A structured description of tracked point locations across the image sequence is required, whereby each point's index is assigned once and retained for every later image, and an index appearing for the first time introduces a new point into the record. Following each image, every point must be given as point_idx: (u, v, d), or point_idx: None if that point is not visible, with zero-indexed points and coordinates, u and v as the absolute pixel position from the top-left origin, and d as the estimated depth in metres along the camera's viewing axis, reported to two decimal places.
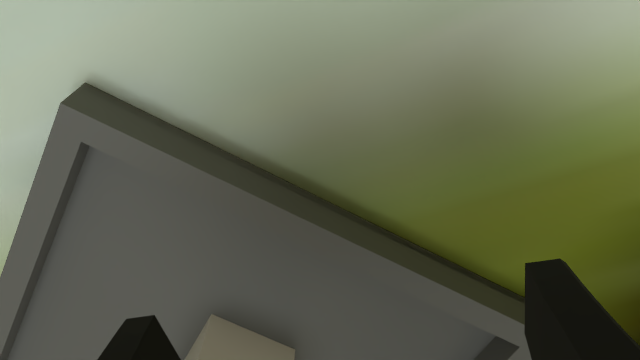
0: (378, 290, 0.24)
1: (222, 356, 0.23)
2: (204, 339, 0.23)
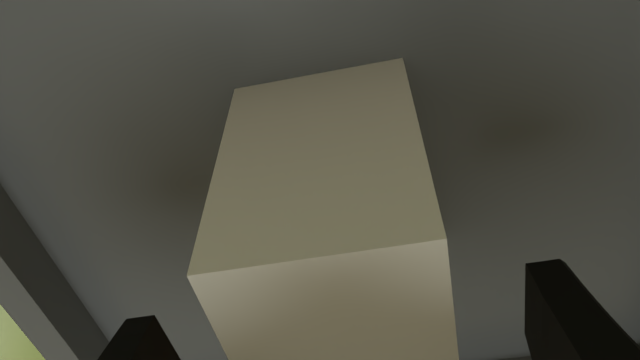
0: None
1: (264, 127, 0.12)
2: (227, 122, 0.13)
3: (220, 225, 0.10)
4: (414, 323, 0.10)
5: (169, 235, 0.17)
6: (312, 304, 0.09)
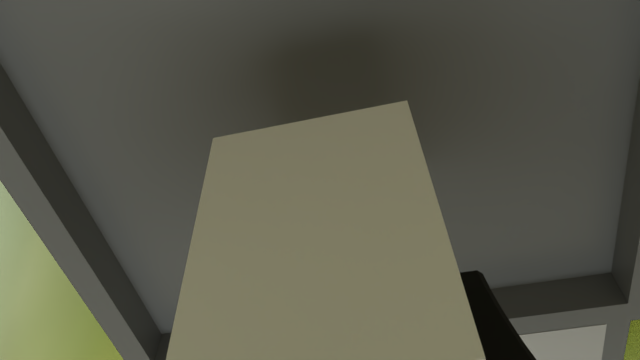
0: None
1: (248, 190, 0.10)
2: (205, 182, 0.11)
3: (197, 330, 0.08)
4: None
5: (182, 172, 0.19)
6: None
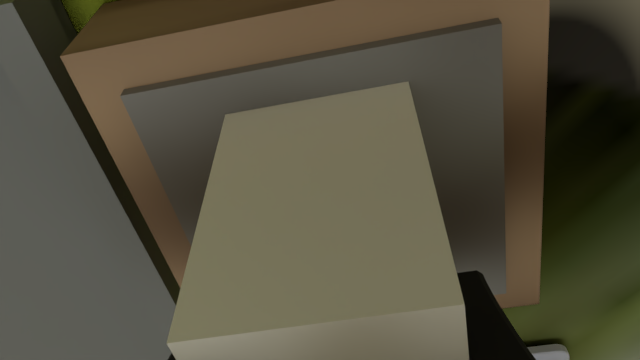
0: None
1: (256, 160, 0.11)
2: (217, 153, 0.11)
3: (206, 279, 0.09)
4: None
5: None
6: None
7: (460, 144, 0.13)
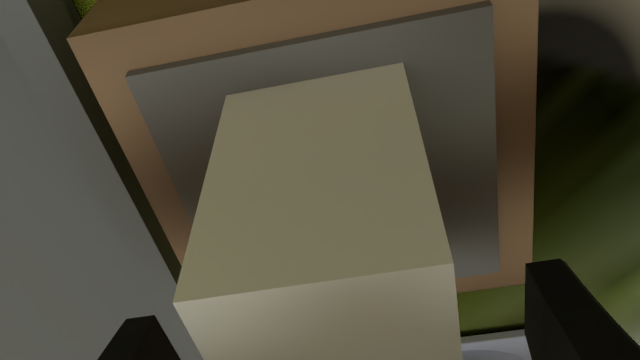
0: None
1: (256, 137, 0.11)
2: (218, 131, 0.12)
3: (209, 246, 0.09)
4: (418, 350, 0.09)
5: None
6: (308, 332, 0.09)
7: (453, 124, 0.13)
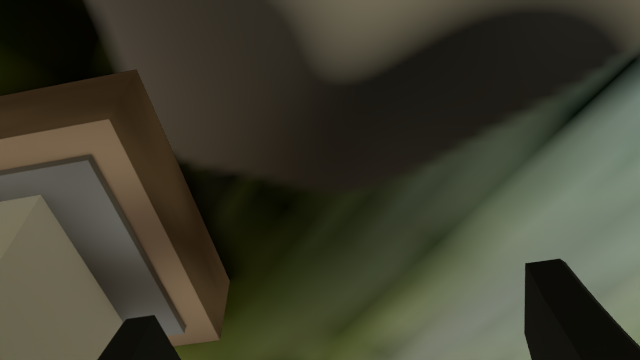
0: None
1: None
2: None
3: None
4: None
5: None
6: None
7: (97, 233, 0.18)
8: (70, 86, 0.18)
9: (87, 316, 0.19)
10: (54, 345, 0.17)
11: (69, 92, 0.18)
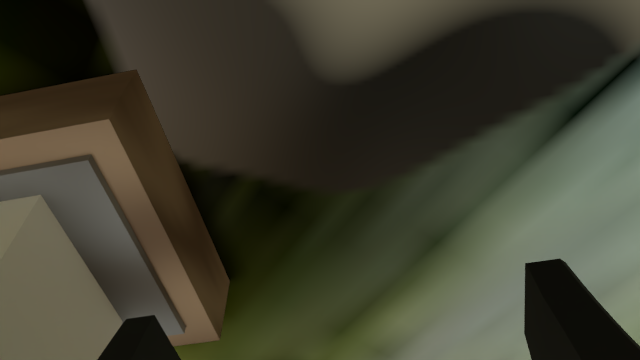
0: None
1: None
2: None
3: None
4: None
5: None
6: None
7: (97, 233, 0.18)
8: (70, 86, 0.18)
9: (87, 316, 0.19)
10: (54, 345, 0.17)
11: (69, 92, 0.18)
